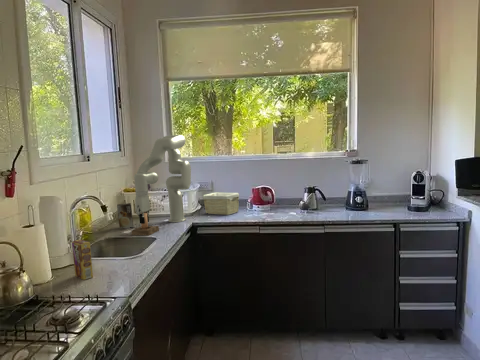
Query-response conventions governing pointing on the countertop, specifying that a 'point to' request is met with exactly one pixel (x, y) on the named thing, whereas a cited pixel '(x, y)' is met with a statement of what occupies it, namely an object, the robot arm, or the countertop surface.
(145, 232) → the hole block
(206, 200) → the storage basket
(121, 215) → the coffee box
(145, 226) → the peg
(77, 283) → the countertop surface
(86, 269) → the candy box
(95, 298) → the countertop surface
